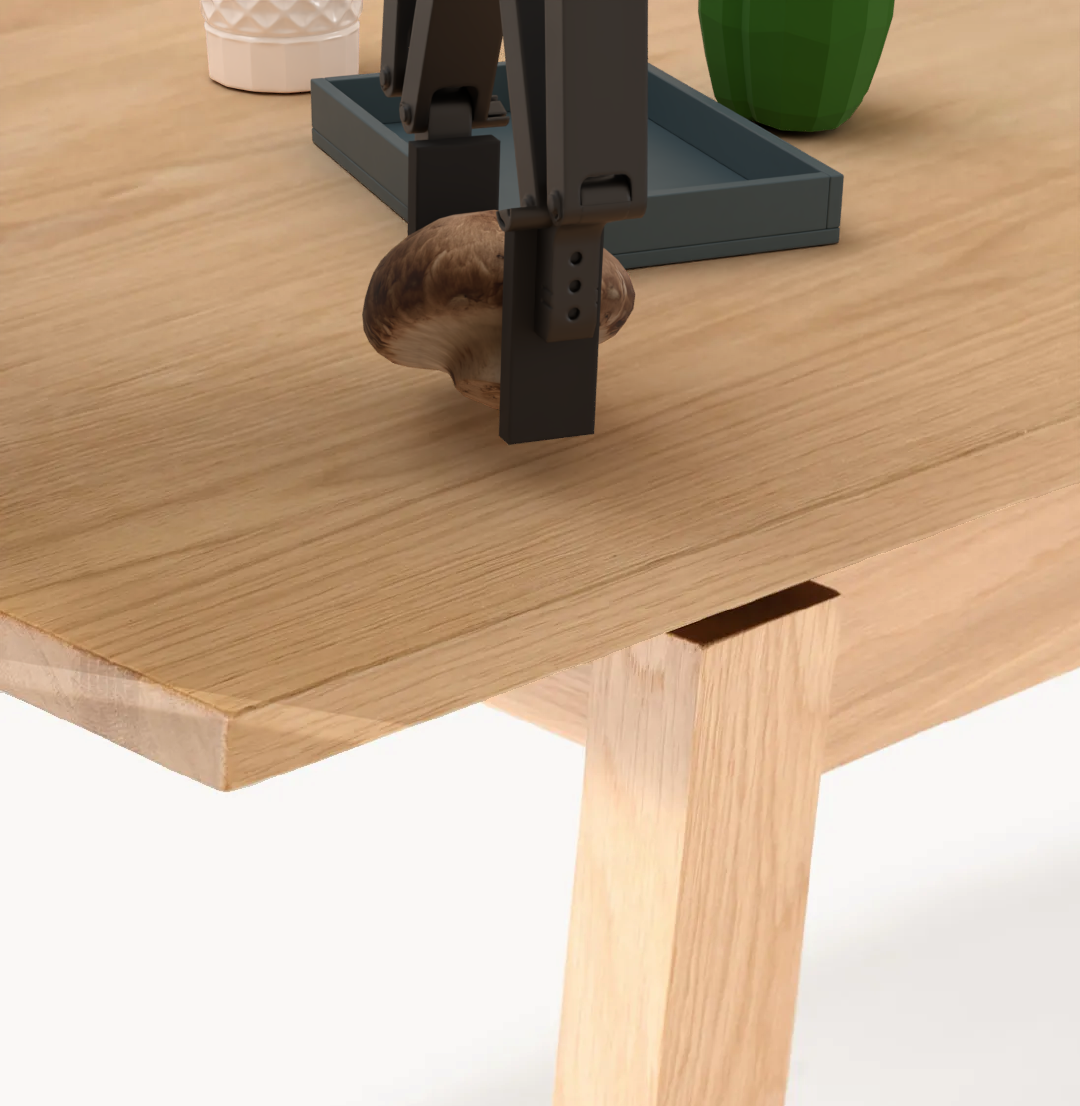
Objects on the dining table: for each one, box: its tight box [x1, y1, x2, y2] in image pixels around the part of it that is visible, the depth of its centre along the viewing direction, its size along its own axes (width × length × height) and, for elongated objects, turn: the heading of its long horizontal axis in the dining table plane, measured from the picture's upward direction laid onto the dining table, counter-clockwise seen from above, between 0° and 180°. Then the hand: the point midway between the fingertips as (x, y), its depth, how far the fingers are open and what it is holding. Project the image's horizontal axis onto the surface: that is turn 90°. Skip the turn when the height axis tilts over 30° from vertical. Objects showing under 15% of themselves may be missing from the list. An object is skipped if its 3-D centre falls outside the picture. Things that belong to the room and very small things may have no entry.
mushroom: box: [361, 210, 636, 410], centre depth 76 cm, size 8×8×6 cm
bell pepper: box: [697, 0, 896, 133], centre depth 106 cm, size 8×8×10 cm
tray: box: [310, 60, 845, 270], centre depth 98 cm, size 14×19×3 cm
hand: (496, 386), depth 77 cm, fingers closed on mushroom, 7 cm apart
